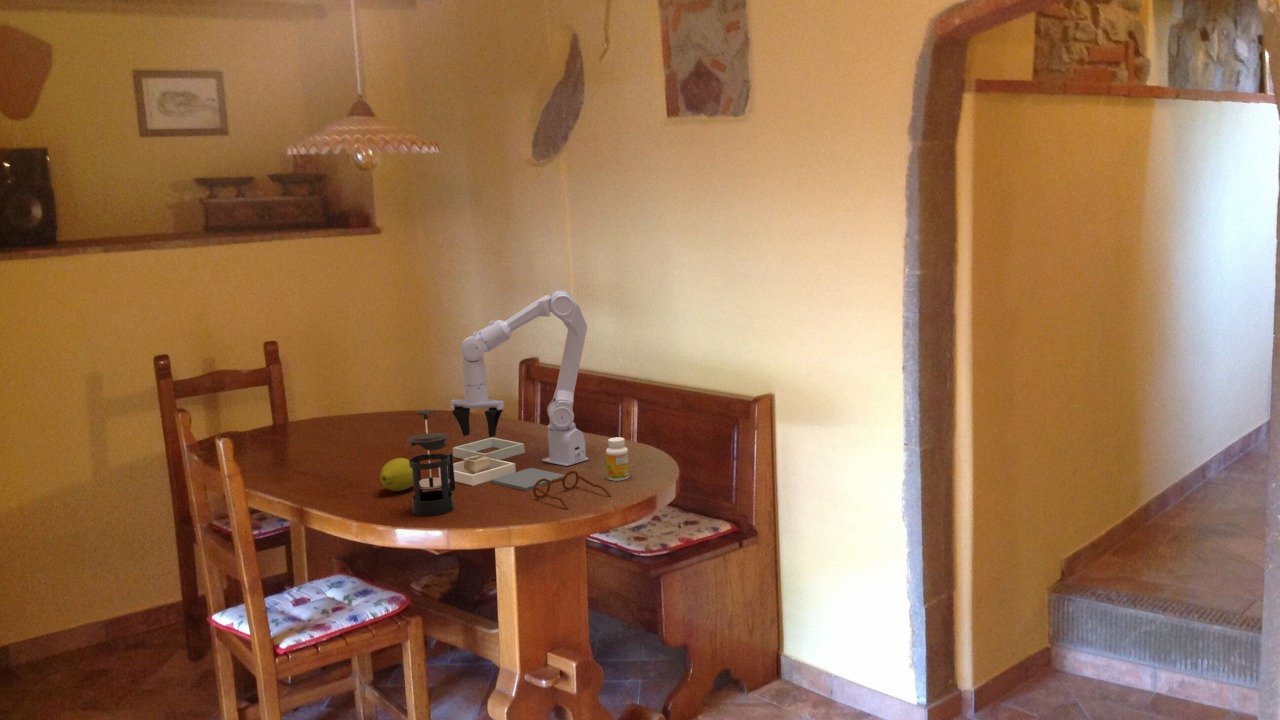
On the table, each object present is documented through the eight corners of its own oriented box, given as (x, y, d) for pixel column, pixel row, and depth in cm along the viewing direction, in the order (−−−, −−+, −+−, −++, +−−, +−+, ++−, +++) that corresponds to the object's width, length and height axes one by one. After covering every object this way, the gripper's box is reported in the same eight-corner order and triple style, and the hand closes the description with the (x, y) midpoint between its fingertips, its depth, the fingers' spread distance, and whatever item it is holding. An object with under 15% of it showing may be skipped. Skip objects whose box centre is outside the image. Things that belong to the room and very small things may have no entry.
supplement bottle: (604, 477, 272) (602, 438, 271) (625, 474, 274) (622, 435, 273) (611, 482, 267) (609, 442, 266) (632, 479, 269) (630, 440, 268)
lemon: (404, 483, 276) (401, 452, 274) (426, 487, 271) (424, 455, 270) (370, 495, 267) (367, 462, 266) (393, 499, 263) (390, 466, 261)
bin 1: (524, 452, 300) (524, 443, 300) (485, 463, 291) (484, 454, 290) (492, 446, 310) (492, 437, 309) (453, 456, 300) (452, 447, 300)
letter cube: (490, 474, 280) (488, 457, 279) (476, 479, 277) (474, 461, 276) (478, 472, 283) (477, 454, 282) (464, 476, 280) (463, 458, 279)
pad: (566, 478, 273) (566, 475, 272) (525, 491, 263) (525, 487, 263) (531, 470, 282) (531, 467, 281) (491, 482, 272) (490, 479, 272)
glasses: (577, 488, 265) (576, 468, 264) (612, 498, 255) (611, 477, 255) (532, 501, 257) (531, 480, 256) (567, 512, 247) (566, 490, 246)
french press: (430, 519, 245) (421, 417, 241) (401, 513, 251) (392, 413, 247) (468, 505, 254) (460, 406, 251) (439, 499, 260) (431, 403, 256)
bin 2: (515, 473, 280) (515, 463, 280) (472, 485, 270) (472, 475, 270) (481, 465, 289) (481, 455, 289) (439, 477, 280) (438, 467, 279)
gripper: (508, 381, 284) (511, 433, 287) (458, 380, 290) (462, 431, 292) (494, 386, 278) (498, 439, 280) (444, 385, 283) (448, 437, 286)
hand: (479, 435), depth 286 cm, fingers open, 7 cm apart
